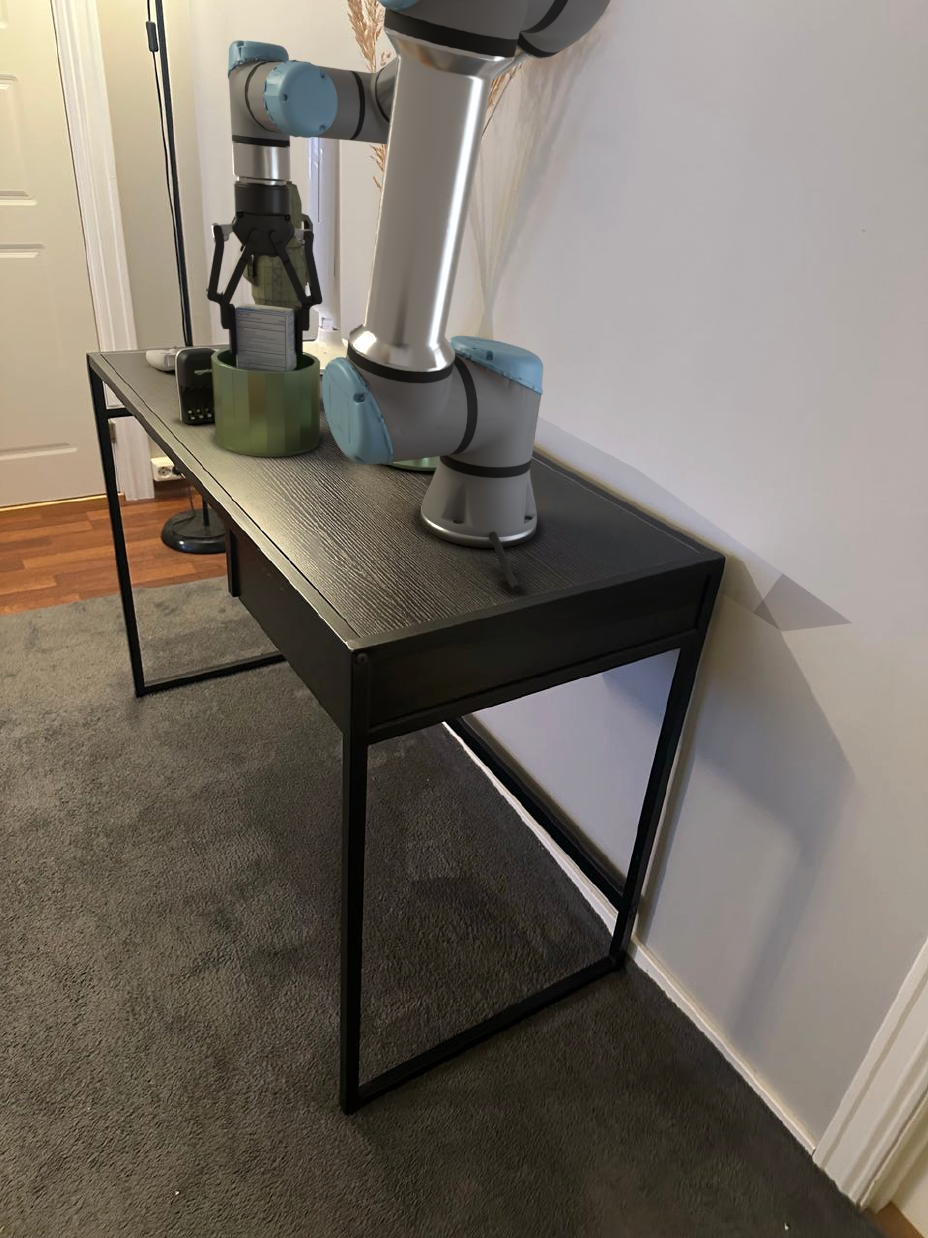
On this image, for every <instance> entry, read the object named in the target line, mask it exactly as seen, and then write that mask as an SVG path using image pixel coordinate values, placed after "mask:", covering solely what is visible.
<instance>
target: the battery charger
mask: <svg viewBox="0 0 928 1238" xmlns="http://www.w3.org/2000/svg"><path fill="white" fill-rule="evenodd" d="M213 349H214V348H212V347H209V346H197V347H186V348H181V349H179V351H178V352H177V353H176V355H175V369H174V376H175V385H176V386H175V387H176V392H177V393H176V394H177V400H178V417H179V420H180V421H181V422H182V423H186V424H189V425H199V424H207V423H208V424H209V423H213V422H214V423H215V413H214V396H213V378H212V361H211V356H212V355H213V354H214V353H215V352H216V351H214V350H213Z"/></svg>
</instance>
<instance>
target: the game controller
mask: <svg viewBox="0 0 928 1238" xmlns="http://www.w3.org/2000/svg"><path fill="white" fill-rule="evenodd" d="M170 347H171V348H170V349H169V350H165V349H148V350H147V351H146V352H145V353H146V354H145V358H146V360H147V362H148V364H150V366H152V367H153V368H155V369H157V370H159V371H165V372H170V371H173V370H175V355H176V353H177V352H178V351H179V350H180V349H179V348H178V345H171V346H170ZM212 349H213V350H214V351H216V352H217V351H220V350H221V349H219V348H212Z"/></svg>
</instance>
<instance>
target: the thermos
mask: <svg viewBox="0 0 928 1238" xmlns="http://www.w3.org/2000/svg"><path fill="white" fill-rule="evenodd" d="M286 185H288V186H289V188H290V189H291V221H292V224H293V226H294V228H298V229H303V230H304V229H309V230H310V231H312V232H313V233H314V223H313V221H312V220H311V217H310V216H309V215H308V214H306V213H303V207H302V206H303V204H302V199H301V195H300V192H299V188H298V185H297V184H295V183H293V181H292V180H289V181H286ZM285 249H286V251H287V253H288V256H289V258H290V260H291V263H292V265H293V267H294V269H295V272H296V274H297V276H298V278H299V280H300V282H301V285H302V287H303V289H304V291H305V293H306V286H308V280H307V275H306V270H305V265H304V260H303V255H302V250H301V245H299V244H298V243H297V238H296V237H295V236H293V237H292V239H291V240H290V242H289V243H288V245H287V246H286V248H285ZM242 277H243V278H244V279H245V280H246V281H247V282H248V283H250V284H251V296H252V300H253V301H254V304H255V305H265V306H274V307H282V308H290V309H294V306H300V303H299V301H298V299H297V297H296V295H295V292H294V290H293V288H292V286H291V284H290V282H289V280H288V278H287V275H286V273H285V271H284V269H283V267H282V265H281V263H280V261H279V259H278V257H277V256H276V257H269V256H266V255H264V256H260V257H258V256H253V255H252V256H251V258H250V260H249V262H248V263H247V265H246V268H245V270H244V272H243V274H242ZM306 294H307V293H306Z"/></svg>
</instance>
